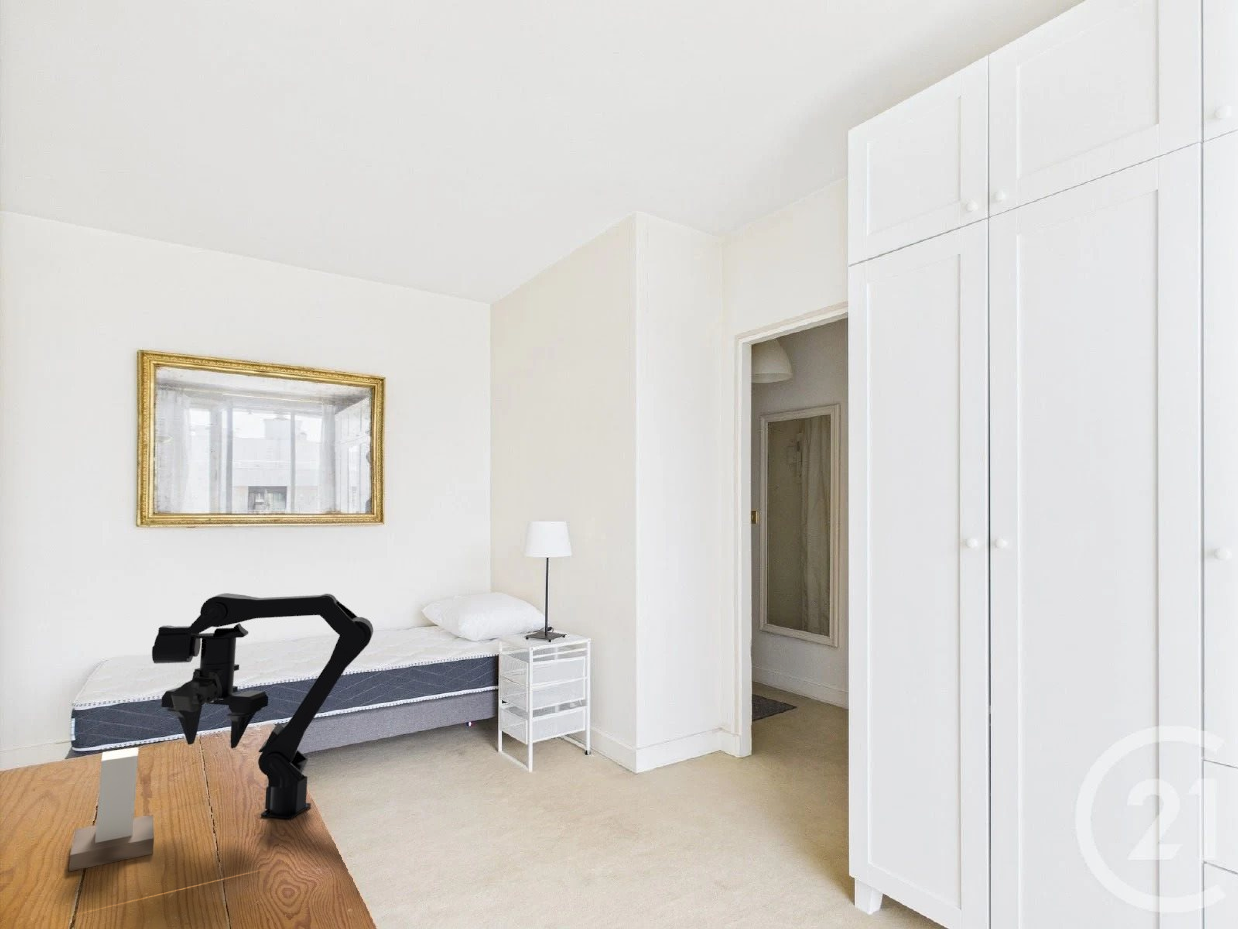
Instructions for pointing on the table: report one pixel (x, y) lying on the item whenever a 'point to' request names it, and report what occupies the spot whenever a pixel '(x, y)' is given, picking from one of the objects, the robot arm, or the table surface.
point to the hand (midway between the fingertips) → (212, 746)
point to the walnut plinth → (111, 845)
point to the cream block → (117, 794)
